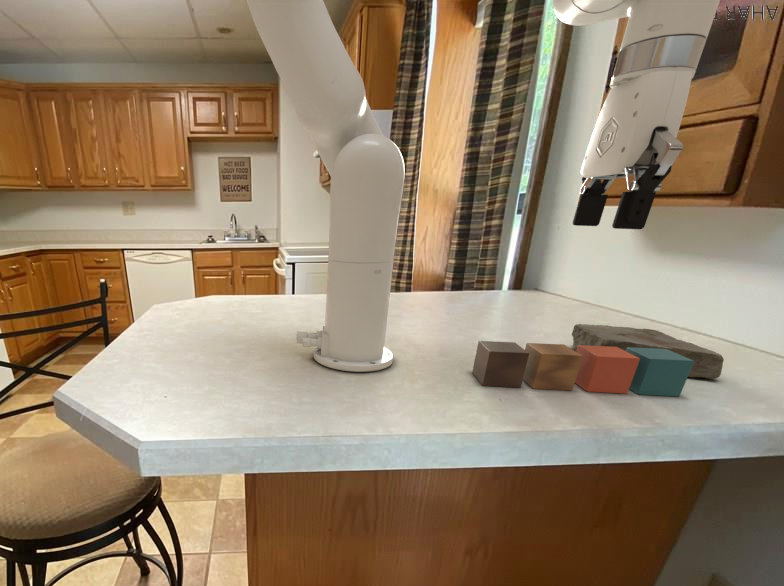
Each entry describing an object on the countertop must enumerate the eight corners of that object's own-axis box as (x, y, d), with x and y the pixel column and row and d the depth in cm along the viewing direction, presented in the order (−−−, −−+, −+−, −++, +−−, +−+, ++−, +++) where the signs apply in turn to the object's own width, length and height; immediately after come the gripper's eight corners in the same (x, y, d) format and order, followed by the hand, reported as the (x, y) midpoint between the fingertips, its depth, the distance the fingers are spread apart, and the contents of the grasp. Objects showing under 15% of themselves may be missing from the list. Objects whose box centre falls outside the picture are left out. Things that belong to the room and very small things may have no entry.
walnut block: (482, 385, 58) (489, 351, 57) (472, 372, 63) (478, 340, 61) (521, 387, 58) (529, 353, 56) (507, 374, 62) (515, 342, 60)
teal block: (637, 394, 56) (650, 358, 54) (615, 380, 60) (626, 347, 59) (679, 396, 55) (694, 360, 53) (653, 382, 60) (666, 348, 58)
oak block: (532, 388, 58) (541, 353, 56) (518, 375, 62) (526, 342, 60) (572, 390, 57) (582, 355, 55) (554, 377, 62) (564, 344, 60)
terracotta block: (586, 391, 57) (597, 356, 55) (568, 378, 61) (578, 344, 59) (627, 394, 56) (640, 358, 54) (605, 380, 61) (616, 346, 59)
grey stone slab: (720, 381, 60) (733, 353, 58) (602, 373, 63) (611, 346, 62) (652, 347, 75) (661, 324, 73) (560, 341, 78) (566, 319, 77)
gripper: (580, 87, 56) (544, 223, 63) (670, 40, 41) (610, 229, 47) (642, 86, 55) (599, 225, 62) (759, 38, 40) (685, 231, 46)
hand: (604, 227), depth 55 cm, fingers open, 9 cm apart
